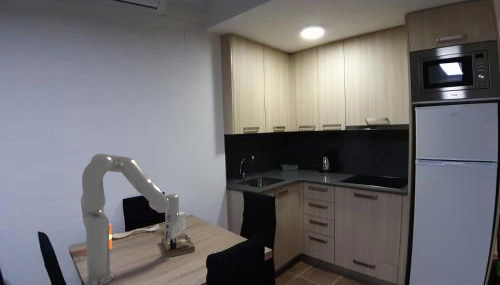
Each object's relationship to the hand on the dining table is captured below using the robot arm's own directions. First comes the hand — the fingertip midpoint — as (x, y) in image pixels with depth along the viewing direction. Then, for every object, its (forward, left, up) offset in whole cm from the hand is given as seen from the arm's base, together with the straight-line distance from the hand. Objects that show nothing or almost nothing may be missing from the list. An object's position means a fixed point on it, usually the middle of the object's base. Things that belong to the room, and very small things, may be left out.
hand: (173, 249), depth 150 cm
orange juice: (+33, +36, -5) cm, 49 cm away
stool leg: (+4, -4, -1) cm, 6 cm away
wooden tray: (+13, -5, -5) cm, 15 cm away
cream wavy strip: (+48, +16, -5) cm, 51 cm away
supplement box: (+41, -12, -5) cm, 43 cm away
